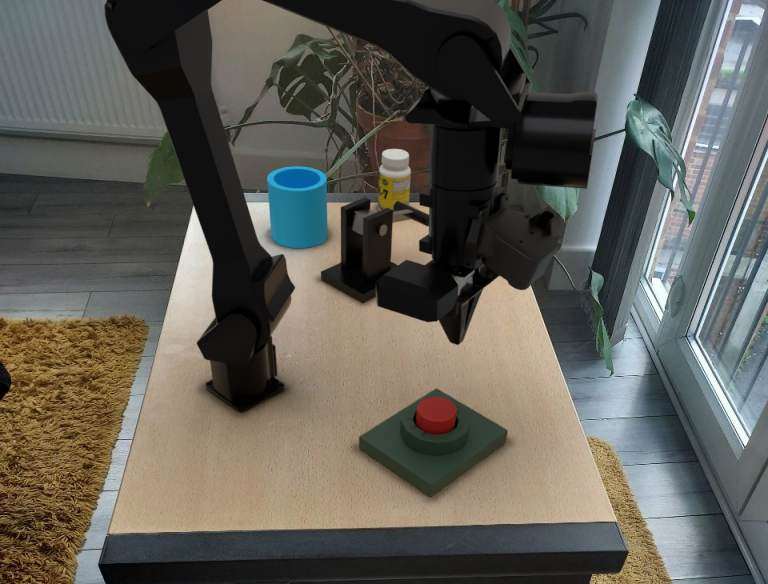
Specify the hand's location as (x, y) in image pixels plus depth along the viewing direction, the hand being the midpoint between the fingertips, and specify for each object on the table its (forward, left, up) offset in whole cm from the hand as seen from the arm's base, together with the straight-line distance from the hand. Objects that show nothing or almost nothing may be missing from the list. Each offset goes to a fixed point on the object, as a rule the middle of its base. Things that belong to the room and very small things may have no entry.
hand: (456, 342), depth 77 cm
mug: (+19, +45, -11) cm, 50 cm away
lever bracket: (+16, +28, -11) cm, 34 cm away
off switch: (-3, -1, -11) cm, 11 cm away
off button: (-3, -1, -8) cm, 8 cm away
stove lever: (+20, +28, -5) cm, 35 cm away
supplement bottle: (+34, +40, -11) cm, 54 cm away
